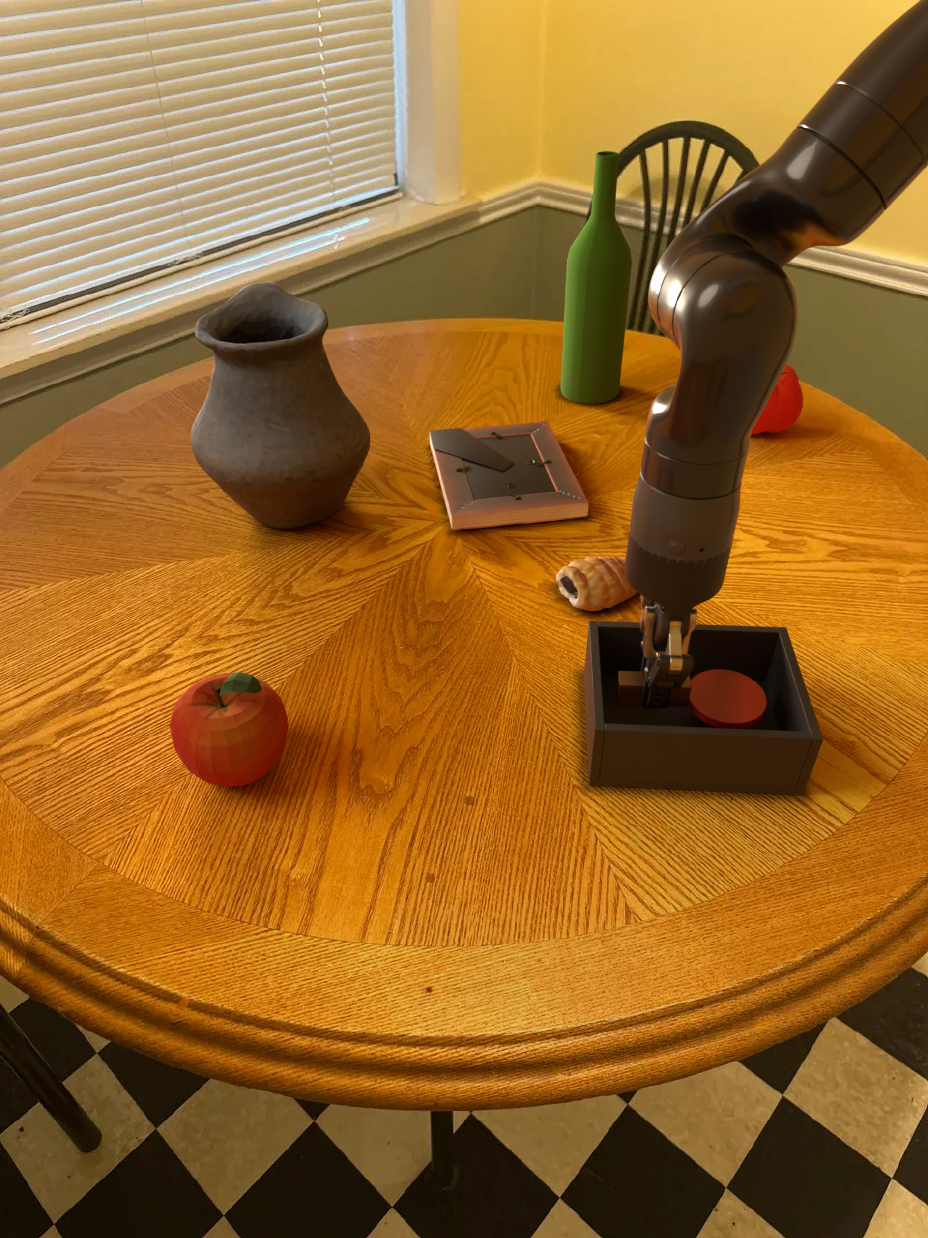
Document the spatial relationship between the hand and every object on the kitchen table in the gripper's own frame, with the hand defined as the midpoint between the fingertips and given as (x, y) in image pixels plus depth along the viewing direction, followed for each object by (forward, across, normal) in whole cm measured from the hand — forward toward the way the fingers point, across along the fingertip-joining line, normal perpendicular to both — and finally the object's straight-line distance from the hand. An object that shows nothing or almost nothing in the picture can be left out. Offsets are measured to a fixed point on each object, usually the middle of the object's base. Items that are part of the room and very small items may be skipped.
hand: (652, 695), depth 74 cm
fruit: (+5, -6, +36) cm, 36 cm away
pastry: (+4, +20, +4) cm, 21 cm away
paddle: (0, 0, -3) cm, 3 cm away
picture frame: (+4, +43, +15) cm, 46 cm away
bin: (+4, 0, -3) cm, 5 cm away
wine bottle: (+4, +70, +3) cm, 70 cm away
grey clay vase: (+5, +36, +41) cm, 54 cm away
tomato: (+4, +59, -20) cm, 63 cm away
